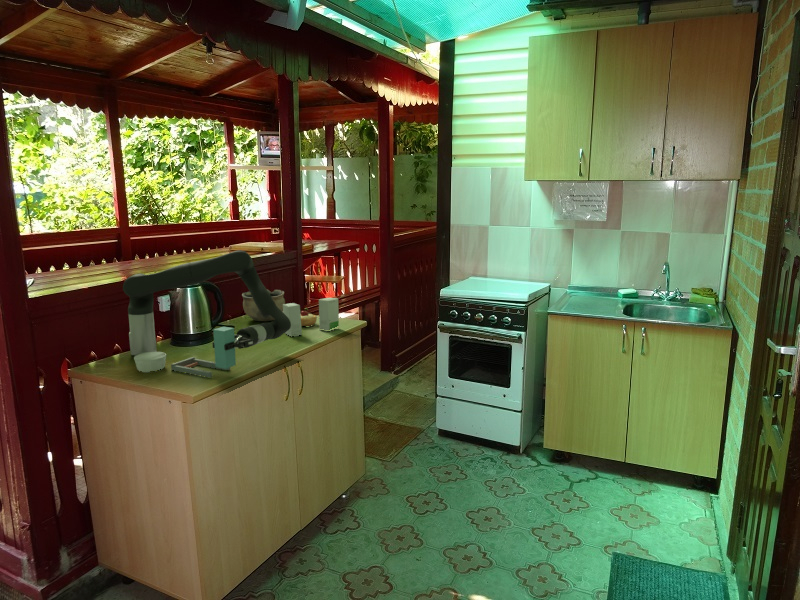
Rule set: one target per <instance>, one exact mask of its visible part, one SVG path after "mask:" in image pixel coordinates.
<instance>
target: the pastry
mask: <svg viewBox="0 0 800 600" xmlns="http://www.w3.org/2000/svg"><path fill="white" fill-rule="evenodd" d="M306 310H307V311H306ZM300 315H301V326H311V325H314V324H315V325H316V324H317V320H318V319H317V316H316V314H312V313H309V312H308V308H307V307H305V308H304V310H300ZM315 325H314V326H315ZM311 327H312V326H311Z"/></svg>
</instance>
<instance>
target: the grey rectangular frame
mask: <svg viewBox="0 0 800 600" xmlns="http://www.w3.org/2000/svg"><path fill="white" fill-rule="evenodd" d="M196 365H198V366H199V365H202V366H201V367H206V368H210V367H211V368H212V369H215V368H216V370H221V369H222V371H226V370H229V371H231V367H230V368H227V369H224V368H219V367H215V361H210V360H204V359H200V358H199V359H198V358H196V357H195V356H192V357H188V358H186V359H183V360H179V361H177V362H173V363H171V364H170V368H171V371H172V370H174V371H173V372H176V371H180V372H179V373H181V372H186V373H191V374H196V375H201V376H205V377H204V378H206V377H209V378H208V379H211V378H213V373H212V371H207V370H204V369H200V368H199V369H197V368H195V367H197V366H196ZM193 366H195V367H193ZM190 367H192V368H190ZM186 373H185V374H186ZM191 374H190V375H191ZM196 375H195V376H196ZM201 376H200V377H201ZM210 377H211V378H210Z"/></svg>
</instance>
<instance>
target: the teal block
mask: <svg viewBox="0 0 800 600" xmlns="http://www.w3.org/2000/svg"><path fill="white" fill-rule="evenodd" d="M234 335H235V328H234V327H229V326H221V327H218V328H214V329H213V342H214V347H215V348H213V349H214V362H215V367H219V368H224V369H227V368H230V369H231V367H234V366H236V364H237V363H236V362H237V361H236V348H235V349H234V348H232V349H229V350H224V345H225V344H227V343H230V342H233V341H235V338H234Z"/></svg>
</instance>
